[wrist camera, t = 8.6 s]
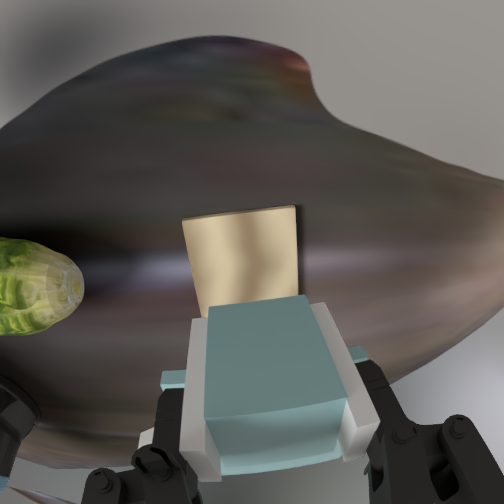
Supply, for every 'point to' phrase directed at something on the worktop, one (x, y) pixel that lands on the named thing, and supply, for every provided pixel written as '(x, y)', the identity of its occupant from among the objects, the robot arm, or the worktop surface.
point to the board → (243, 256)
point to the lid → (270, 386)
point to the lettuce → (35, 287)
